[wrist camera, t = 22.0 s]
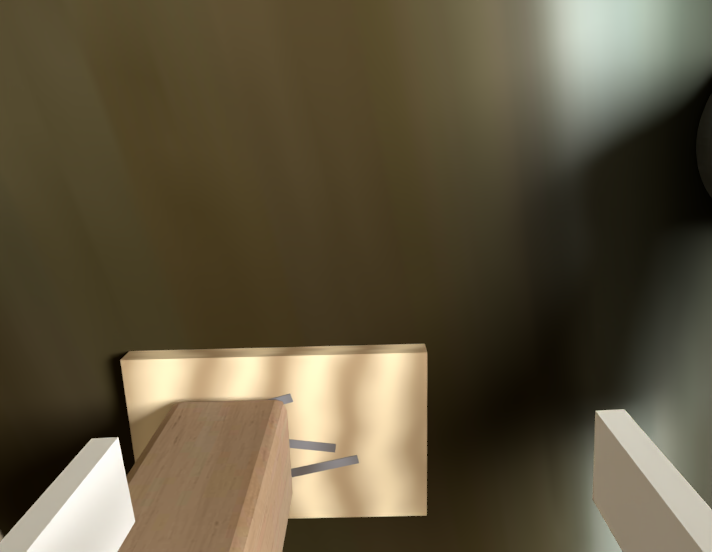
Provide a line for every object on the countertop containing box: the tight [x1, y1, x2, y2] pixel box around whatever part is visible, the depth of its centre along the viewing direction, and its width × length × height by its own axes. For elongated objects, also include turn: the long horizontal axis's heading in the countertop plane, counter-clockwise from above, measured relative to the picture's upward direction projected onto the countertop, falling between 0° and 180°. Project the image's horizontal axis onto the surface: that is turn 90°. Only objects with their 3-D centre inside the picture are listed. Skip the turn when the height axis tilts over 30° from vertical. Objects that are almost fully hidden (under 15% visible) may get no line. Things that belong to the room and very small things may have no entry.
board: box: [120, 344, 427, 519], centre depth 52 cm, size 26×16×2 cm, turn 92°
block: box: [118, 400, 293, 552], centre depth 42 cm, size 10×10×20 cm
